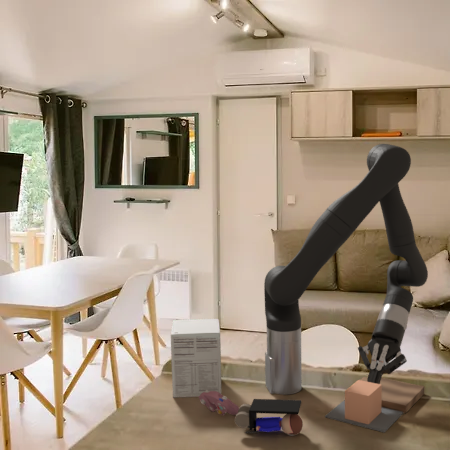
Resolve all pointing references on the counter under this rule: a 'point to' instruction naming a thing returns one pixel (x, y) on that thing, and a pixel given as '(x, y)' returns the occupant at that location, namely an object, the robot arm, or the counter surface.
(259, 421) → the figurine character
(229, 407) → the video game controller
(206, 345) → the supplement box
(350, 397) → the block
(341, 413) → the mat
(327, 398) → the counter surface
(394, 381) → the board
